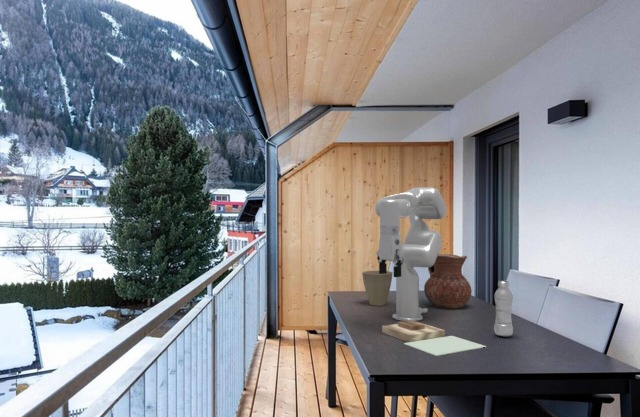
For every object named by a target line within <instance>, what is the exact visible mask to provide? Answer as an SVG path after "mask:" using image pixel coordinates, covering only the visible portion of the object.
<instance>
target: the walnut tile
mask: <svg viewBox="0 0 640 417" xmlns="http://www.w3.org/2000/svg"><path fill="white" fill-rule="evenodd" d="M417 322H418V321H411V320H410V321H397V324H398V326H399V327H402V328H405V329H408V330H411V331H413V330H420V329H425V325H424V324H425V323H422V322H419V323H417ZM421 323H422V324H421Z"/></svg>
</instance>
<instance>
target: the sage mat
mask: <svg viewBox="0 0 640 417" xmlns="http://www.w3.org/2000/svg"><path fill="white" fill-rule="evenodd" d="M403 345H405V346H408V347H411V348H413V349H416V350H419V351H421V352H424V353H427V354H428V355H431V356H434V357H439V356H445V355H450V354H456V353H461V352H468V351H473V350H478V349H484V348H483V347H485V348H487V346H486V345H484V344H481V343H477V342H473V341H471V340H468V339H464V338H461V337H458V336H455V335H448V336H445V337H440V338H434V339H427V340H421V341H415V342H404V343H403Z"/></svg>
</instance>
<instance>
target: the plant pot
mask: <svg viewBox="0 0 640 417" xmlns="http://www.w3.org/2000/svg"><path fill="white" fill-rule="evenodd" d="M361 274H362V275H361V276H362V281H363V287H364V290H365V294H366V297H367V301H368V302H369V305H370V306H373V307H384V306H386V305H387V304H386V303H387V300H388V297H389V295H390V294H389V293H390V290H391V286H392V279H393V274H394V271H390V270H388V271H387V273H386V274H379V270H366V271H365V270H364V271H362V272H361Z"/></svg>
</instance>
